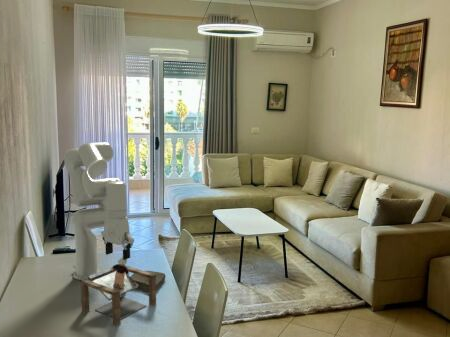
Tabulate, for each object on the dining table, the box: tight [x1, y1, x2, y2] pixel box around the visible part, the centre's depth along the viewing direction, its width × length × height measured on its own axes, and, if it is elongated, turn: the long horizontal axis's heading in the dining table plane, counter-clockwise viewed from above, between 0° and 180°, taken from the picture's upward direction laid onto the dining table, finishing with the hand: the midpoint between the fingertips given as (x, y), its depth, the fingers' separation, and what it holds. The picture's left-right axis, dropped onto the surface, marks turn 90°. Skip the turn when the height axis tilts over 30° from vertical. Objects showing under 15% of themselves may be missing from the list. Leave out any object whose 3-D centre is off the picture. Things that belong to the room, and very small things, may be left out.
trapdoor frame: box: [80, 264, 157, 327], centre depth 169 cm, size 20×21×13 cm
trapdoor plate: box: [88, 266, 138, 302], centre depth 170 cm, size 13×15×1 cm
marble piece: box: [129, 270, 166, 294], centre depth 192 cm, size 17×15×4 cm
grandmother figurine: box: [110, 256, 130, 288], centre depth 167 cm, size 8×4×13 cm, turn 89°
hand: (117, 256), depth 167 cm, fingers open, 9 cm apart
